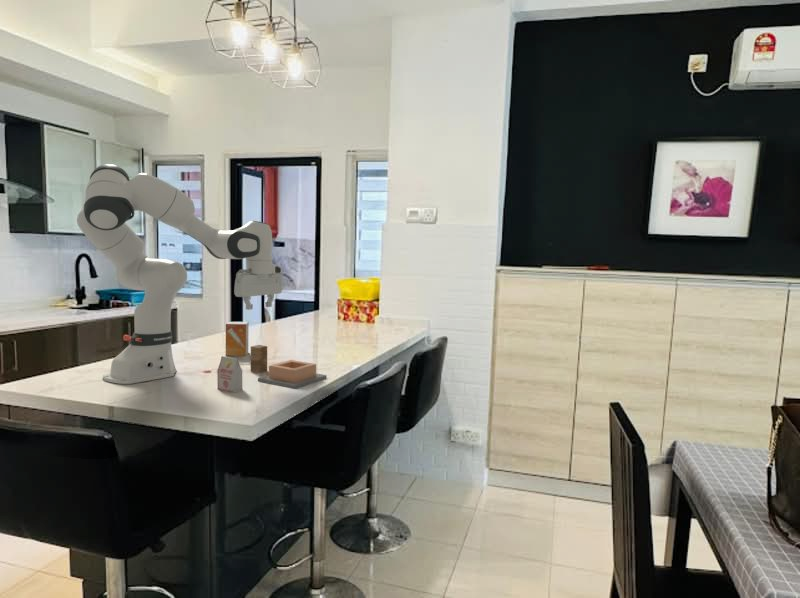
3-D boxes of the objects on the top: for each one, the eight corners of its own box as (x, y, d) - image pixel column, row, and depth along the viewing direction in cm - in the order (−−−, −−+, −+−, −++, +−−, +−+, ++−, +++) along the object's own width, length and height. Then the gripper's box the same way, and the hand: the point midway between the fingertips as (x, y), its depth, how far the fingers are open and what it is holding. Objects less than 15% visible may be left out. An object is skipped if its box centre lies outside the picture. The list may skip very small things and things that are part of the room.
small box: (225, 356, 208) (225, 323, 206) (228, 352, 214) (228, 321, 213) (246, 356, 209) (246, 323, 207) (248, 352, 215) (248, 321, 214)
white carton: (226, 386, 164) (226, 355, 163) (242, 389, 161) (242, 358, 160) (217, 389, 161) (217, 357, 160) (233, 392, 158) (233, 360, 157)
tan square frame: (295, 388, 164) (296, 372, 163) (257, 381, 171) (257, 366, 171) (326, 378, 178) (326, 363, 177) (290, 371, 186) (290, 357, 185)
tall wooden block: (259, 373, 182) (259, 347, 181) (250, 371, 184) (250, 346, 183) (267, 371, 185) (267, 346, 184) (258, 369, 187) (258, 344, 186)
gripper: (243, 269, 170) (243, 311, 172) (285, 268, 188) (285, 306, 190) (229, 269, 173) (229, 310, 175) (272, 267, 191) (272, 305, 193)
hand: (259, 308), depth 182 cm, fingers open, 8 cm apart
